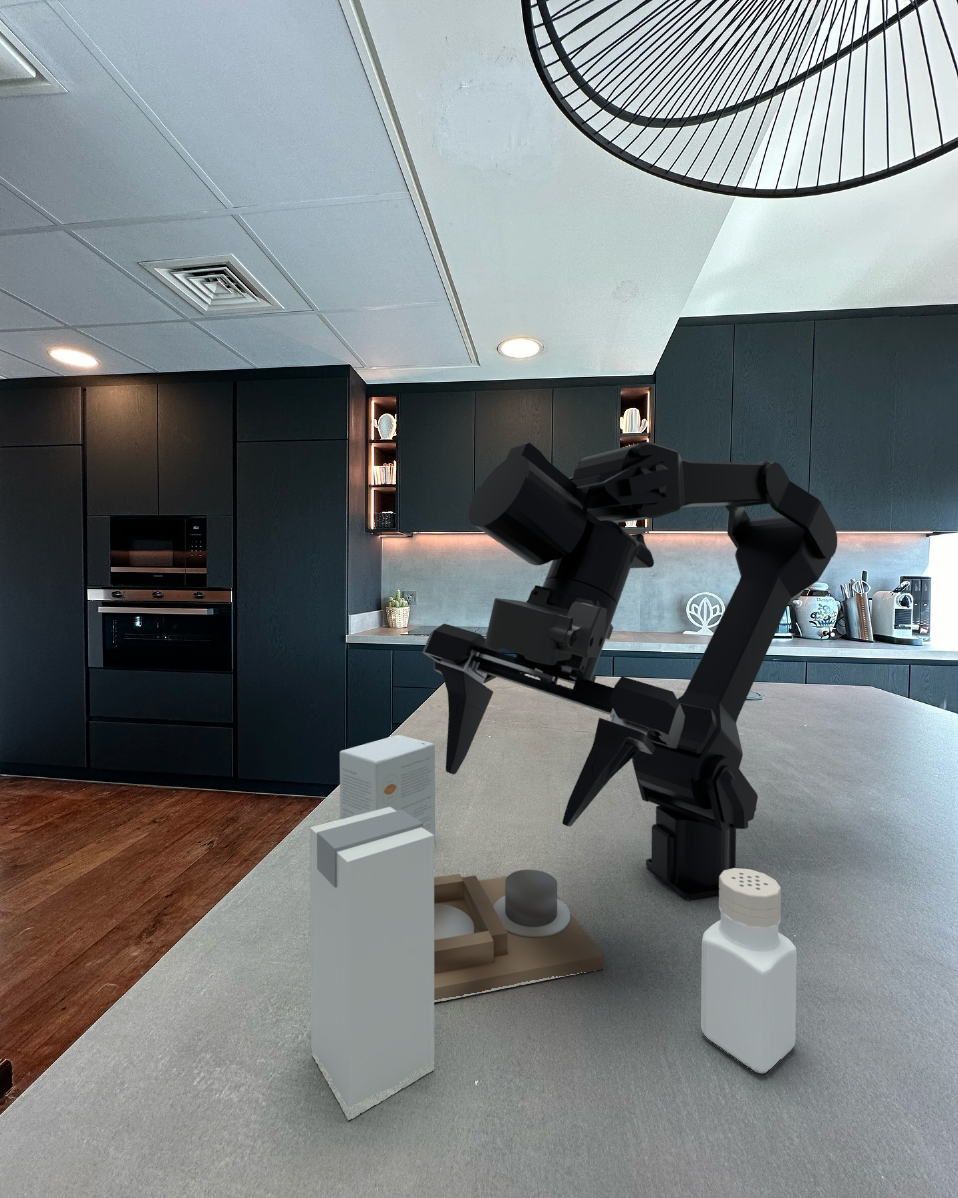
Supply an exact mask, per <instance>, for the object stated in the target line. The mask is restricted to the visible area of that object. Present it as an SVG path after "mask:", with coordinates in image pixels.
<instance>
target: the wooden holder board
mask: <svg viewBox="0 0 958 1198" xmlns="http://www.w3.org/2000/svg"><path fill="white" fill-rule="evenodd" d="M601 969H603V970H604V954H603V953H602V952H601V950H600V949H599V948H598V947H597V946H596V944H595V942H594V941H593V940H592V939H591V938H590V936H589V935H588V934H587V932H585V930H584V928H583V927H582V926H581V925H580V924H579V922H578V921H577V920H576V918H575V917H574V916H573V915H572V914H571V911H570V910H569V908H568V905H566V903H565V902H563V901H562V900H561V899H560V897H559V896H558V882H557V880H556V878H555V877H554V876H552V874H550V873H547V872H545V871H543V870H539V869H538V870H537V869H521V870H516V871H513V872H511V873H509V874H508V875H507V876H501V877H495V878H494V877H493V878H487V879H478V877H477V875H476V874H475V875H470V876H461V874H460V873H456V874H449V875H442V876H434V1000H438V999H442V998H449V997H456V996H463V995H464V994H471V993H477V992H482V991H485V990H491V989H492V988H498V987H503V986H509V985H514V984H517V983H521V982H526V981H528V982H529V981H531V980H539V979H543V978H548V977H549V978H551V977H552V976H554V977H556V976H558V977H559V976H566V975H570V974H577V973H579V975H581V974H580V973H581V972H582V973H584V972H589V973H592V972H591V971H594V970H596V971H594V972H598V971H597V970H599V971H602V970H601ZM584 974H585V973H584Z"/></svg>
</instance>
